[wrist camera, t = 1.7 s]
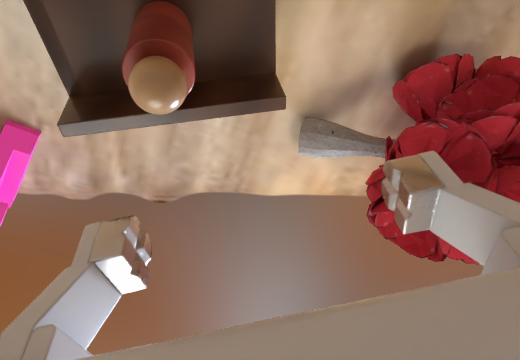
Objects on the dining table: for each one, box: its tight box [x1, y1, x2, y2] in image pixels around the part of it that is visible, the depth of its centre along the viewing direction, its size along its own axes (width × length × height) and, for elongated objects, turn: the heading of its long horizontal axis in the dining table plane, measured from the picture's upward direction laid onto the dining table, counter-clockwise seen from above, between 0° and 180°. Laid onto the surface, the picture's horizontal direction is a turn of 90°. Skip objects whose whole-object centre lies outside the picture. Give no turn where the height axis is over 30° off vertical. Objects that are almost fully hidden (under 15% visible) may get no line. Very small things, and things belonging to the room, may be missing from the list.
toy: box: [122, 1, 195, 115], centre depth 22 cm, size 4×4×10 cm
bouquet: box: [299, 54, 520, 264], centre depth 41 cm, size 22×24×30 cm
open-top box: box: [23, 0, 286, 137], centre depth 28 cm, size 17×10×15 cm, turn 92°
